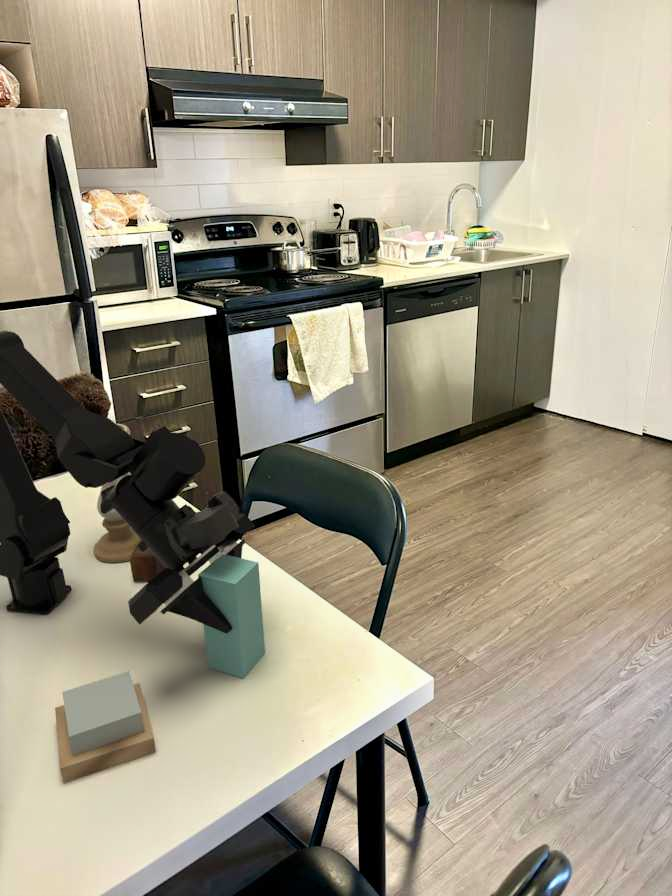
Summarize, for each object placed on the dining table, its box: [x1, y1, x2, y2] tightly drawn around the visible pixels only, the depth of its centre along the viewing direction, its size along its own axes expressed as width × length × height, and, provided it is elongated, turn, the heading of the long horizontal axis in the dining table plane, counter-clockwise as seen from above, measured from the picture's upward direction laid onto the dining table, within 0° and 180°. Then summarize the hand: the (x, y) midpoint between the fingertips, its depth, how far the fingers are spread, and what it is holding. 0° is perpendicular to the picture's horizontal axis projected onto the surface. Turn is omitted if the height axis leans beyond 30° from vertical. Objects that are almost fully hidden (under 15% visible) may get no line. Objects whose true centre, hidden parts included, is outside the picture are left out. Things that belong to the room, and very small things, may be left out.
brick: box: [129, 540, 165, 583], centre depth 104 cm, size 11×4×5 cm, turn 178°
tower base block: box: [54, 682, 157, 784], centre depth 72 cm, size 9×9×2 cm
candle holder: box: [92, 422, 141, 564], centre depth 105 cm, size 9×9×20 cm
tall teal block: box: [197, 554, 266, 679], centre depth 80 cm, size 5×5×13 cm
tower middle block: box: [61, 670, 145, 756], centre depth 71 cm, size 7×7×2 cm
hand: (242, 617), depth 80 cm, fingers closed on tall teal block, 5 cm apart
